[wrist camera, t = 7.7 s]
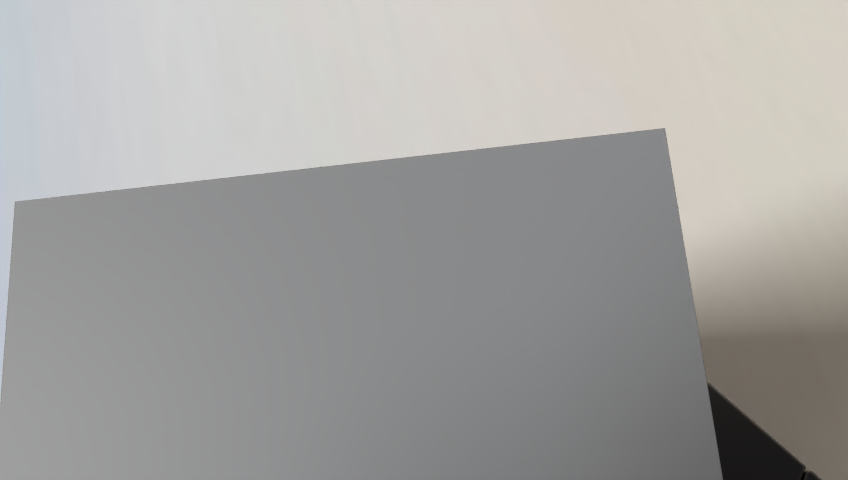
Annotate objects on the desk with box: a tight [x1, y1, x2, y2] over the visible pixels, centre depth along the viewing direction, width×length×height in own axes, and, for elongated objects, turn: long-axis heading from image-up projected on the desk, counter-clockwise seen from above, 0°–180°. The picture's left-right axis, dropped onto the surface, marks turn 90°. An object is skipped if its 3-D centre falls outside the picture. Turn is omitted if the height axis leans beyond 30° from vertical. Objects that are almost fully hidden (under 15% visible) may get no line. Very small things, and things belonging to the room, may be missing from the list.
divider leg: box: [0, 128, 723, 480], centre depth 9 cm, size 4×4×12 cm
